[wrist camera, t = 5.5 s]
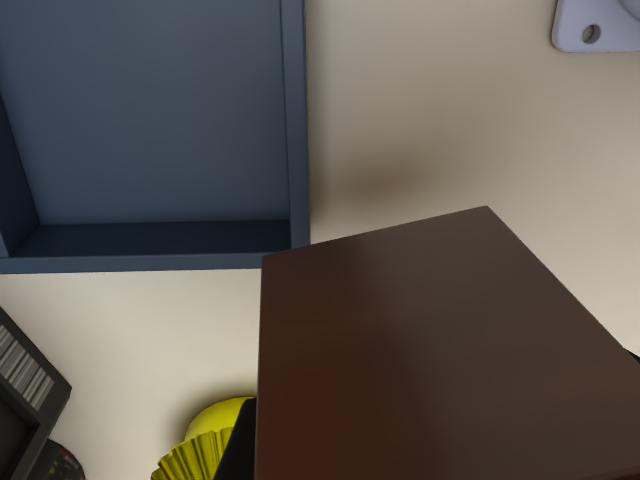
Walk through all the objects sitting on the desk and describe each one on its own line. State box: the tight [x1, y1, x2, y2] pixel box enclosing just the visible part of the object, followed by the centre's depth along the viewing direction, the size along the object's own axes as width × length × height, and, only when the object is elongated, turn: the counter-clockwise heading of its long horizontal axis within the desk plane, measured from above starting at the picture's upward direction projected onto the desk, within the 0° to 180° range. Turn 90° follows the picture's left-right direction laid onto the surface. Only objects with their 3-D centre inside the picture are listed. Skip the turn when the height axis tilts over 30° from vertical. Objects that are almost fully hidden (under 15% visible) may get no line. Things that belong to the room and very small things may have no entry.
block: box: [254, 206, 640, 480], centre depth 9 cm, size 4×4×6 cm
